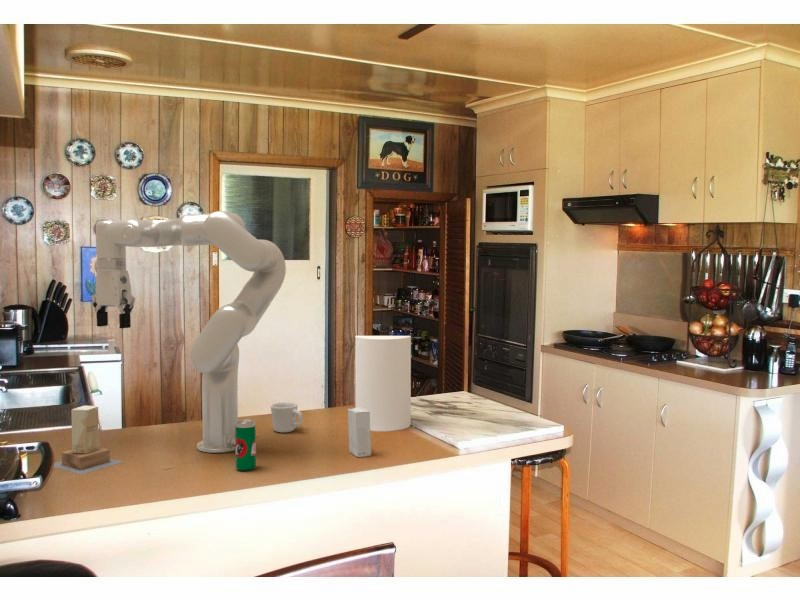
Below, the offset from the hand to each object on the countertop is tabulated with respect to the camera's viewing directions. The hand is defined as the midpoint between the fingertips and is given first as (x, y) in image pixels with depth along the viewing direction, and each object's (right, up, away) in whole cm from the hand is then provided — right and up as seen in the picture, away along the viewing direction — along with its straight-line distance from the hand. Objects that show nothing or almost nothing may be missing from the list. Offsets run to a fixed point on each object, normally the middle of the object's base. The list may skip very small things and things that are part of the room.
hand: (113, 327), depth 196 cm
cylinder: (+74, -32, +26) cm, 85 cm away
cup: (+46, -32, +17) cm, 59 cm away
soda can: (+41, -35, -19) cm, 57 cm away
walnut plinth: (0, -34, -18) cm, 38 cm away
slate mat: (0, -35, -18) cm, 39 cm away
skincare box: (+69, -34, -6) cm, 77 cm away
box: (0, -31, -18) cm, 36 cm away
